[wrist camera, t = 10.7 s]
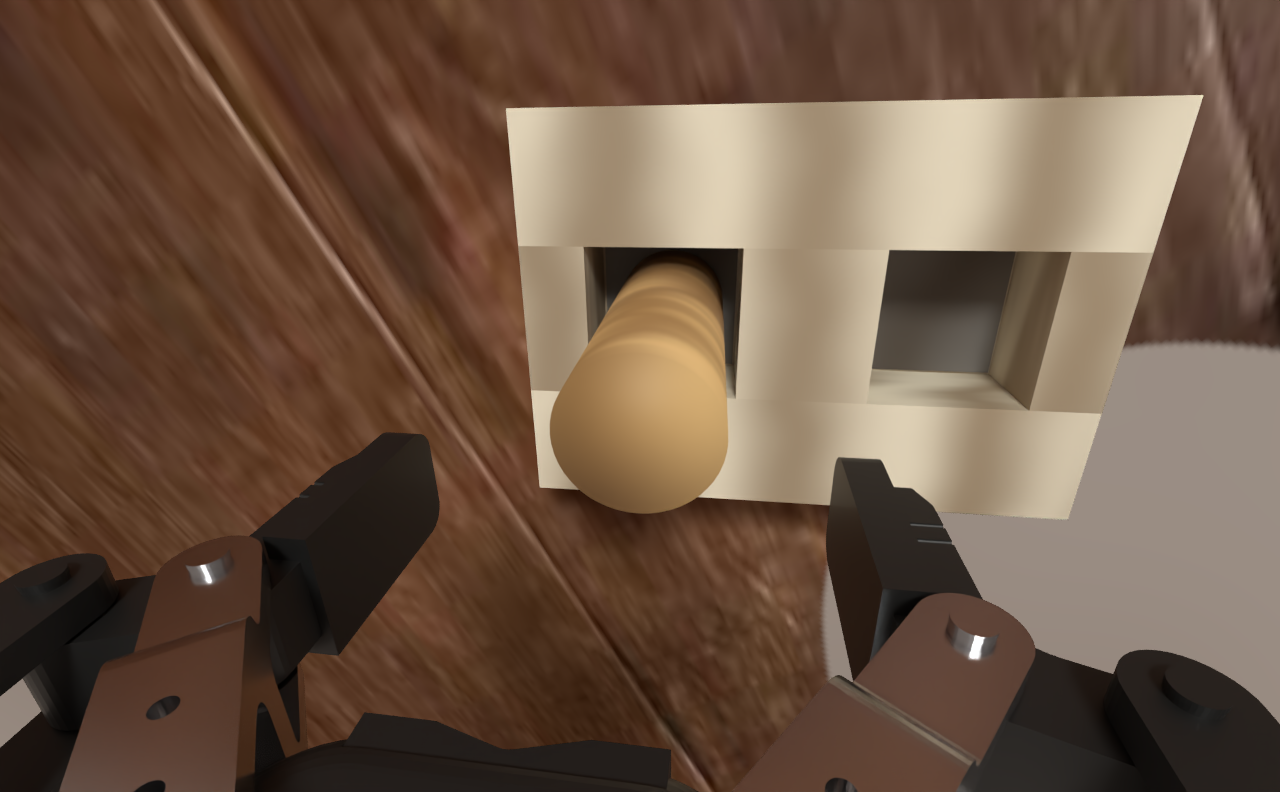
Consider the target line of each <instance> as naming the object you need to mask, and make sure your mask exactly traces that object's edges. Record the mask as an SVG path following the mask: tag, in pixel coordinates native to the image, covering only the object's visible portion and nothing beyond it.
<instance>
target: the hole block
mask: <svg viewBox="0 0 1280 792" xmlns="http://www.w3.org/2000/svg"><path fill="white" fill-rule="evenodd" d="M1202 99H1203V95H1185V96H1133V97H1080V98H1027V99H975V100H922V101H870V102H817V103H764V104H712V105H659V106H606V107H554V108H506V114H507V125H508V136H509V148H510V159H511V170H512V181H513V192H514V204H515V215H516V226H517V237H518V248H519V260H520V271H521V282H522V293H523V304H524V316H525V327H526V338H527V349H528V360H529V372H530V383H531V394H532V405H533V416H534V428H535V439H536V450H537V461H538V472H539V484H540V487H543V488H560V489H576V490H579V489H578V488H577V487H576V486H575V485H574V484H573V483H572V482H571V481H570V480H569V479H568V477H567V476H566V475H565V474H564V472H563V471H562V469H561V467H560V466H559V464H558V462H557V460H556V457H555V455H554V452H553V449H552V445H551V439H550V418H551V412H552V409H553V405H554V402H555V400H556V398H557V396H558V394H559V392H560V391H561V389H562V387H563V386H564V384H565V382H566V381H567V379H568V377H569V376H570V374H571V372H572V370H573V369H574V367H575V365H576V364H577V362H578V360H579V359H580V357H581V355H582V354H583V352H584V350H585V349H586V347H587V345H588V344H589V342H590V340H591V339H592V337H593V335H594V334H595V332H596V330H597V329H598V327H599V325H600V324H601V322H602V320H603V319H604V317H605V315H606V314H607V312H608V310H609V308H610V307H611V305H612V303H613V302H614V300H615V298H616V297H617V295H618V293H619V292H620V290H621V288H622V287H623V285H624V283H625V282H626V280H627V278H628V277H629V275H630V273H631V272H632V270H633V269H634V268H635V267H636V266H637V264H639V263H640V262H641V261H642V260H643V259H645V258H646V257H648V256H650V255H652V254H655V253H658V252H661V251H666V250H678V251H684V252H688V253H691V254H693V255H695V256H697V257H699V258H700V259H702V260H703V261H705V262H706V263H707V264H708V265H709V266H710V267H711V269H712V270H713V271H714V273H715V274H716V276H717V278H718V280H719V282H720V286H721V289H722V297H723V321H724V344H725V368H726V392H727V415H728V449H727V454H726V458H725V461H724V464H723V466H722V468H721V471H720V473H719V474H718V476H717V477H716V479H715V480H714V482H713V483H712V484H711V485H710V486H709V487H708V489H706V490H705V491H704V492H703V493H702V494H701V495H700V496H698V497H705V498H721V499H737V500H753V501H770V502H786V503H802V504H818V505H830V499H831V492H832V484H833V476H834V468H835V463H836V460H837V458H838V457H846V458H865V459H880V460H881V461H882V462H883V464H884V466H885V469H886V471H887V473H888V475H889V477H890V480H891V482H892V484H893V486H894V487H901V488H912V489H913V490H915V491H916V492H917V493H918V494H920V495H921V496H922V497H923V498H924V499H926V500H927V501H928V502H929V503H931V504H932V505H933V507H934V508H935V510H936V512H948V513H963V514H965V513H966V514H980V515H996V516H1013V517H1028V518H1045V519H1060V520H1068V518H1069V515H1070V512H1071V509H1072V506H1073V503H1074V500H1075V496H1076V493H1077V490H1078V487H1079V484H1080V481H1081V478H1082V474H1083V471H1084V468H1085V465H1086V462H1087V459H1088V456H1089V453H1090V449H1091V446H1092V443H1093V440H1094V437H1095V434H1096V430H1097V427H1098V424H1099V421H1100V418H1101V415H1102V412H1103V408H1104V406H1105V402H1106V399H1107V396H1108V393H1109V390H1110V387H1111V384H1112V380H1113V377H1114V374H1115V371H1116V368H1117V365H1118V361H1119V358H1120V355H1121V352H1122V349H1123V346H1124V343H1125V340H1126V337H1127V333H1128V330H1129V327H1130V324H1131V321H1132V318H1133V315H1134V312H1135V308H1136V305H1137V302H1138V299H1139V296H1140V293H1141V290H1142V287H1143V283H1144V280H1145V277H1146V274H1147V271H1148V268H1149V265H1150V261H1151V258H1152V255H1153V252H1154V249H1155V246H1156V243H1157V240H1158V236H1159V233H1160V230H1161V227H1162V224H1163V221H1164V218H1165V214H1166V211H1167V208H1168V205H1169V202H1170V199H1171V196H1172V193H1173V189H1174V186H1175V183H1176V180H1177V177H1178V174H1179V171H1180V167H1181V164H1182V161H1183V158H1184V155H1185V152H1186V149H1187V146H1188V142H1189V139H1190V136H1191V133H1192V130H1193V127H1194V124H1195V120H1196V117H1197V114H1198V111H1199V108H1200V105H1201V102H1202Z"/></svg>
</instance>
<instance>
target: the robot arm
mask: <svg viewBox="0 0 1280 792" xmlns="http://www.w3.org/2000/svg"><path fill="white" fill-rule="evenodd" d="M438 516H439V496H438V491H437V485H436V479H435V474H434V468H433V462H432V457H431V451H430V446H429V442H428V440H427V438H426V437H425V436H424V435H422V434H408V433H389V432H387V433H383V434H382V435H380V436H379V437H378V438H377V439H375V440H374V441H373V442H372V443H371V444H370V445H368V446H367V447H366V448H365V449H364V450H363V451H361V452H360V453H359V454H358V455H356V456H354V457H352V458H350V459H348V460H346V461H344V462H342V463H340V464H338V465H336V466H334V467H332V468H331V469H330V470H328V471H327V472H326V473H325V474H324V475H322V476H321V477H320V478H319V479H318V480H316V481H315V484H314V485H310V486H309V487H308V488H307V489H306V490H304V491H303V492H302V493H301V494H300V497H299V498H295V499H294V500H292V501H291V502H290V503H289V504H288V505H286V506H285V507H284V508H283V509H281V510H280V511H279V512H278V513H277V514H275V515H274V516H273V517H272V518H271V519H269V520H268V521H267V522H266V523H265V524H263V525H262V526H261V527H260V528H259V529H257V530H256V531H255V532H254V533H253V534H251V535H250V536H227V537H221V538H217V539H213V540H209V541H206V542H203V543H200V544H198V545H195V546H193V547H191V548H189V549H187V550H185V551H183V552H181V553H179V554H178V555H176V556H175V557H173V558H172V559H170V560H169V561H168V562H167V563H165V564H164V565H163V566H162V567H161V568H160V570H159V571H158V572H157V574H156V575H153V576H146V577H138V578H131V579H123V580H116V581H115V579H114V577H113V575H112V573H111V570H110V568H109V566H108V564H107V562H106V560H105V558H103V557H102V556H100V555H97V554H74V555H68V556H63V557H59V558H55V559H52V560H49V561H46V562H43V563H40V564H37V565H35V566H32V567H30V568H28V569H25V570H23V571H21V572H19V573H17V574H15V575H13V576H12V577H10V578H8V579H7V580H5V581H3V582H2V583H0V696H1V695H2V694H4V693H5V692H6V691H7V690H8V689H10V688H11V687H12V686H13V685H15V684H16V683H17V682H18V681H20V680H21V679H22V678H23V680H24V681H25V683H26V685H27V687H28V688H29V690H30V691H31V693H32V695H33V697H34V699H35V701H36V702H37V704H38V705H39V707H40V709H41V712H40V713H39V714H38V715H37V716H36V717H35V718H34V719H32V720H31V721H30V722H29V723H28V724H27V725H26V726H25V727H23V728H22V729H21V730H20V731H19V732H18V733H17V734H15V735H14V736H13V737H12V738H11V739H10V740H9V741H7V742H6V743H5V744H4V745H3V746H2V747H1V748H0V792H698V791H696V790H694V789H693V788H691V787H689V786H687V785H686V784H683V783H681V782H679V781H676V780H674V779H672V778H671V750H669V749H661V748H652V747H644V746H636V745H628V744H620V743H611V742H603V741H595V740H588V741H580V742H571V743H563V744H555V745H547V746H538V747H530V748H522V749H513V750H507V749H501V748H498V747H495V746H493V745H491V744H488V743H486V742H484V741H481V740H479V739H477V738H474V737H472V736H470V735H467V734H465V733H463V732H460V731H458V730H456V729H453V728H451V727H448V726H446V725H444V724H441V723H439V722H437V721H431V720H423V719H414V718H406V717H398V716H390V715H382V714H373V713H364V714H363V716H362V717H361V719H360V721H359V722H358V724H357V725H356V727H355V728H354V730H353V732H352V733H351V735H350V736H349V738H348V739H347V740H340V741H336V742H331V743H327V744H323V745H319V746H316V747H313V748H310V749H308V741H307V722H306V702H305V683H304V674H303V670H302V667H301V664H300V661H301V660H302V659H303V658H304V657H305V655H306V654H307V653H308V652H310V653H319V654H329V655H338V656H339V654H340V653H341V652H342V650H343V649H344V648H345V646H346V645H347V644H348V642H349V641H350V640H351V638H352V637H353V636H354V635H355V633H356V632H357V631H358V629H359V628H360V627H361V625H362V624H363V623H364V621H365V620H366V619H367V617H368V616H369V615H370V613H371V612H372V611H373V609H374V608H375V607H376V606H377V604H378V603H379V602H380V600H381V599H382V598H383V596H384V595H385V594H386V592H387V591H388V590H389V588H390V587H391V586H392V584H393V583H394V582H395V580H396V579H397V578H398V577H399V575H400V574H401V573H402V571H403V570H404V569H405V567H406V566H407V565H408V563H409V562H410V561H411V559H412V558H413V557H414V555H415V554H416V553H417V551H418V550H419V549H420V548H421V546H422V545H423V544H424V542H425V541H426V540H427V538H428V537H429V536H430V534H431V533H432V532H433V530H434V528H435V526H436V523H437V520H438ZM951 542H952V540H951V539H950V537H949V535H948V533H947V531H946V529H945V528H943V524H942V522H941V520H940V518H939V516H938V514H937V512H936V510H935V508H934V507H933V505H932V504H931V503H929V502H928V501H927V500H926V499H924V498H923V497H922V496H921V495H920V494H918V493H917V492H916V491H915V490H913V489H912V488H901V487H894V486H893V484H892V482H891V480H890V477H889V475H888V473H887V471H886V469H885V466H884V464H883V462H882V461H881V460H880V459H865V458H846V457H838V458H837V460H836V463H835V468H834V476H833V484H832V492H831V499H830V507H829V515H828V523H827V533H826V552H827V561H828V566H829V571H830V576H831V580H832V585H833V590H834V594H835V599H836V603H837V607H838V612H839V617H840V622H841V627H842V631H843V635H844V641H845V645H846V650H847V655H848V658H849V664H850V668H851V673H852V678H853V682H850V681H849V680H847V679H846V678H844V677H842V676H840V675H837V676H835V677H833V678H831V679H830V680H829V681H828V682H827V683H826V684H825V685H824V686H823V687H822V688H821V689H820V691H819V692H818V693H817V694H816V695H815V696H814V697H813V699H812V700H811V701H810V702H809V703H808V704H807V705H806V707H805V708H804V709H803V710H802V711H801V712H800V714H799V715H798V716H797V717H796V718H795V719H794V720H793V722H792V723H791V724H790V725H789V726H788V727H787V729H786V730H785V731H784V732H783V733H782V734H781V735H780V737H779V738H778V739H777V740H776V741H775V742H774V743H773V745H772V746H771V747H770V748H769V749H768V750H767V752H766V753H765V754H764V755H763V756H762V757H761V758H760V760H759V761H758V762H757V763H756V764H755V765H754V767H753V768H752V769H751V770H750V771H749V772H748V773H747V775H746V776H745V777H744V778H743V779H742V780H741V781H740V783H739V784H738V785H737V786H736V787H735V788H734V790H733V791H732V792H1280V724H1279V723H1278V722H1277V720H1276V719H1275V718H1274V717H1273V716H1272V715H1271V713H1270V712H1269V711H1268V710H1267V709H1266V708H1265V707H1264V706H1263V705H1262V703H1260V701H1259V700H1258V699H1257V698H1255V697H1254V696H1253V695H1252V694H1251V693H1250V692H1248V691H1247V690H1246V689H1245V688H1243V687H1242V686H1241V685H1239V684H1238V683H1236V682H1235V681H1233V680H1232V679H1230V678H1229V677H1227V676H1225V675H1224V674H1222V673H1220V672H1218V671H1216V670H1214V669H1212V668H1211V667H1209V666H1206V665H1204V664H1202V663H1200V662H1197V661H1195V660H1192V659H1189V658H1187V657H1184V656H1180V655H1176V654H1173V653H1169V652H1163V651H1157V650H1137V651H1133V652H1129V653H1128V654H1126V655H1124V656H1123V657H1122V658H1121V659H1120V660H1119V662H1118V664H1117V666H1116V669H1115V671H1114V674H1111V673H1108V672H1104V671H1101V670H1097V669H1094V668H1091V667H1088V666H1085V665H1081V664H1078V663H1075V662H1072V661H1069V660H1065V659H1062V658H1059V657H1056V656H1053V655H1050V654H1048V653H1045V652H1043V651H1041V650H1039V649H1036V648H1035V645H1034V642H1033V640H1032V638H1031V636H1030V634H1029V633H1028V631H1027V630H1026V629H1025V628H1024V626H1023V625H1022V624H1021V623H1020V622H1018V620H1017V619H1015V618H1014V617H1013V616H1012V615H1010V614H1009V613H1007V612H1006V611H1004V610H1003V609H1001V608H999V607H998V606H996V605H994V604H992V603H989V602H987V601H985V600H983V599H982V597H981V595H980V593H979V591H978V590H977V588H976V586H975V584H974V582H973V580H972V578H971V576H970V574H969V572H968V571H967V569H966V567H965V565H964V563H963V561H962V560H961V557H960V556H959V554H958V552H957V550H956V548H955V546H954V545H952V543H951Z"/></svg>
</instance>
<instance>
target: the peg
mask: <svg viewBox="0 0 1280 792" xmlns="http://www.w3.org/2000/svg"><path fill="white" fill-rule="evenodd" d="M550 439H551V445H552V449H553V452H554V455H555V457H556V460H557V462H558V464H559V466H560V467H561V469H562V471H563V472H564V474H565V475H566V476H567V477H568V479H569V480H570V481H571V482H572V483H573V484H574V485H575V486H576V487H577V488H578V489H579V490H580V491H582V492H583V493H584V494H585V495H587V496H588V497H590V498H591V499H593V500H595V501H596V502H599V503H601V504H603V505H605V506H607V507H610V508H613V509H616V510H620V511H625V512H630V513H658V512H664V511H668V510H672V509H675V508H678V507H681V506H683V505H685V504H687V503H689V502H691V501H692V500H694V499H695V498H697V497H698V496H700V495H701V494H702V493H703V492H704V491H705V490H706V489H708V487H709V486H710V485H711V484H712V483H713V482H714V480H715V479H716V477H717V476H718V474H719V473H720V471H721V468H722V466H723V464H724V461H725V458H726V454H727V449H728V415H727V392H726V368H725V344H724V321H723V297H722V289H721V286H720V282H719V280H718V278H717V276H716V274H715V273H714V271H713V270H712V269H711V267H710V266H709V265H708V264H707V263H706V262H705V261H703V260H702V259H700V258H699V257H697V256H695V255H693V254H691V253H688V252H684V251H678V250H666V251H661V252H658V253H655V254H652V255H650V256H648V257H646V258H645V259H643V260H642V261H641V262H640V263H639V264H637V266H636V267H635V268H634V269H633V270H632V272H631V273H630V275H629V277H628V278H627V280H626V282H625V283H624V285H623V287H622V288H621V290H620V292H619V293H618V295H617V297H616V298H615V300H614V302H613V303H612V305H611V307H610V308H609V310H608V312H607V314H606V315H605V317H604V319H603V320H602V322H601V324H600V325H599V327H598V329H597V330H596V332H595V334H594V335H593V337H592V339H591V340H590V342H589V344H588V345H587V347H586V349H585V350H584V352H583V354H582V355H581V357H580V359H579V360H578V362H577V364H576V365H575V367H574V369H573V370H572V372H571V374H570V376H569V377H568V379H567V381H566V382H565V384H564V386H563V387H562V389H561V391H560V392H559V394H558V396H557V398H556V400H555V402H554V405H553V409H552V412H551V418H550Z"/></svg>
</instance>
